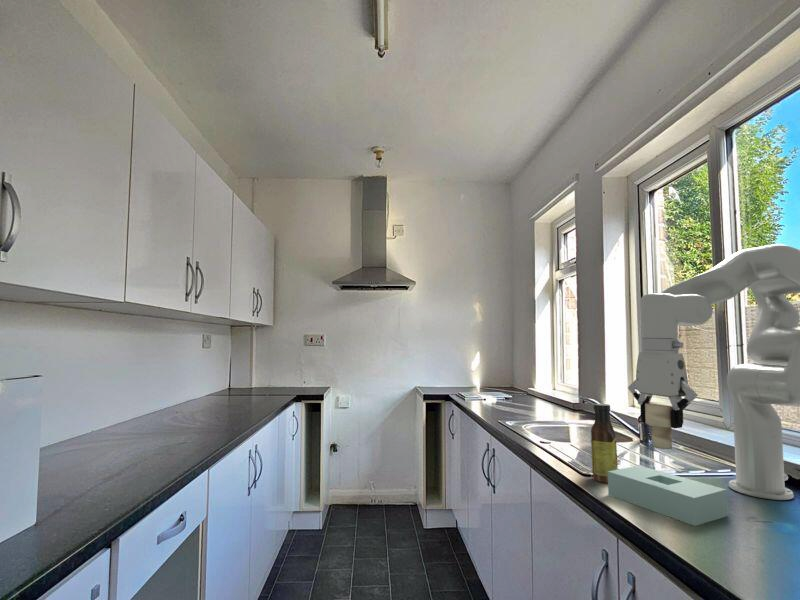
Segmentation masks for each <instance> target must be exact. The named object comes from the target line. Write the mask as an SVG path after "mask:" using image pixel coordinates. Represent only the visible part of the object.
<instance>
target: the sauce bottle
mask: <svg viewBox="0 0 800 600" xmlns="http://www.w3.org/2000/svg"><path fill="white" fill-rule="evenodd" d="M593 410H594V424H592V426H591V428H590V429H591V430H590V435H591V436H590V449H591V451H590V453H591V470H592V472H591V473H592V477H593V478H592V479H594V481H596V482H598V483H602V484H608V471H612V470H618V469H619V468H618V467H619V466H618V449H617V435H616V432H615V430H614V427H613V423H612V422H611V414H610V413H611V412H610V411H611V405H610V404H605V403H594V404H593Z"/></svg>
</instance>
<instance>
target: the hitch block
mask: <svg viewBox="0 0 800 600" xmlns="http://www.w3.org/2000/svg"><path fill="white" fill-rule="evenodd" d="M607 491H608V496H611V497H614V498H616V499H619V500H622V501H623V502H627V503H630V504H633V505H635V506H638V507H641V508H643V509H646V510H650V511H653V512H655V513H657V514H660V515H663V516H665V517H668V516H669V518H671V517H672V518H671V519H674V518H675V519H674V520H677V521H679V520H680V522H682V523H685V524H688V525H690V526H694V527H696V526H699V525H703V524H706V523H710V522H712V521H717V520H719V519H723V518H726V517H728V516H729V515H728V514H729V513H728V496H727V494H728V492H727V489H726V488H723V487H719V486H715V485H712V484H708V483H704V482H701V481H697V480H693V479H690V478H686V477H682V476H679V475H676V474H672V473H668V472H665V471H662V470H657V469H655V468H654V469H653V468H649V467H647V466H644V465H643V466H642V465H636V466H629V467H625V468H623V467H622V468H618V470H612V471H608V483H607Z"/></svg>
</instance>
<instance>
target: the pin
mask: <svg viewBox="0 0 800 600" xmlns="http://www.w3.org/2000/svg"><path fill="white" fill-rule="evenodd" d="M671 410H673V406H672V404H671V403H670V404H669V403H661V402H659V403H658V402H650V403H645V424H646V425H648V426H650V427H651V446H652V447H653V448H656V449H660V450H661V449H662V450H672V449H673V443H672V442H673V441H672V440H673V439H672V438H673V436H672V435H673V434H672V433H673V431H672V429H673V428H672V427H671Z"/></svg>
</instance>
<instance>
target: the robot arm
mask: <svg viewBox="0 0 800 600" xmlns="http://www.w3.org/2000/svg"><path fill="white" fill-rule="evenodd" d="M748 287H749V289H750V291H751V294H752V295H753V297H754V300H755V302H756V305H757V309H758V313H757V316H756V320H755V322H754V325H753V328H752V330H751V332H750V335H749V338H748V342H747V345H746V354H747V356H748V357H749V359H750V360H751V361H753V362H756V363H742V364H737V365H735V366H733V367H732V368H730V370H729V371H728V372H727V376H726V385H727V388H728V389H727V390H728V393H729V397H730V400H731V406H732V414H733V416H732V417H733V438H734V440H733V441H734V460H735V462H734V463H735V465H734V466H735V479H731V480H729V481H728V486H729V488H730V489H731V490H733V491H735V492H738V493H740V494H743V495H747V496H751V497H754V498H760V499H766V500H774V501H775V500H776V501H788V500H792V499H794V492H793V490H791V489H790V488H788V487H786V485H785V484H786V483H785V481H788V479H789V476H788V475H789V474H787V473H786V472H785V463H784V449H783V448H784V446H783V445H784V444H783V429H782V428H783V426H782V421H781V418H780V416H779V414H778V412H777V411H776V410H775V408H774V407H773V405H777V406H784V407H785V406H786V407H793V408H794V407H795V408H800V326H799V324H800V313H799V311H798V310H797V309H798V308H796V307H795V305H794V304H793V303H792V302H790V301H789V300H788V298H787V297H786V296H785V295H791V294H792V295H795V294H800V249H798V248H796V247H793V246H790V245H786V244H782V243H781V244H779V243H775V244H768V245H764V246H763V245H762V246H757V247H752V248H746V249H741V250H739V251H737V252H734V253H732V254H731V255H729V256H728V257H727V258H725V259H724V260H723V261H721V262H719V263H718V264H716V265H715V266H714V267H712V268H710V269H709V270H707V271H705V272H702V273H700V274H697V275H695V276H693V277H690V278H688V279H685V280H683V281H680V282H678V283H676V284H673V285H672V286H670V287H669V286H668V287H667V288H666V289H664V290H662V291H661V292H659V293H658V292H657V293H648V294H644V295H643V296H641V298H640V301H639V302H640V304H639V305H640V306H639V309H640V338H641V339H640V343H641V344H640V351H639V352H638V356H637V359H636V360H637V361H636V368H635V369H636V370H635V371H636V372H635V380H633V381H632V383H630V384H629V385H628V387H627V389H628V390H629V392H630V393H631V394H632V395H633V398H634V399H635V400H636V401H637V404H638V405H639V406H640V407H639V409H640V418H641V423H645V403H651V400H652V398H653V396H657V397H666V398H668V400H669V401H670V402H669V403H670V404H671V405H672V406H673V410H671V427H672V428H671V429H681V428H683V425H684V410H686V408H687V407H688V406H689V405H690V404H691V403H692V402H693V401H694V400H695V399H696V398H697V397H698V394H697V392H696V391H694V389H693V388H692V387H691V386H690V385H689V380H688V378H689V377H688V373H687V372H688V370H687V365H686V362H685V358H684V355H683V352H681V353H680V352H679V351H680V349H683V348H684V343H683V341H680V340H679V328H678V327H693V326H694V327H695V326H699V325H700V326H701V325H704V324H705V323H707V322H708V321H709V320H711V318H712V315H713V311H714V308H713V305H715V304H718V303H721V302H724V301H728V300H731V299H732V298H734V297H735V296H737V295H739V294H740V293H741V292H743V291H744V290H745V289H747V288H748ZM683 397H684V398H683ZM645 424H646V423H645Z"/></svg>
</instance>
